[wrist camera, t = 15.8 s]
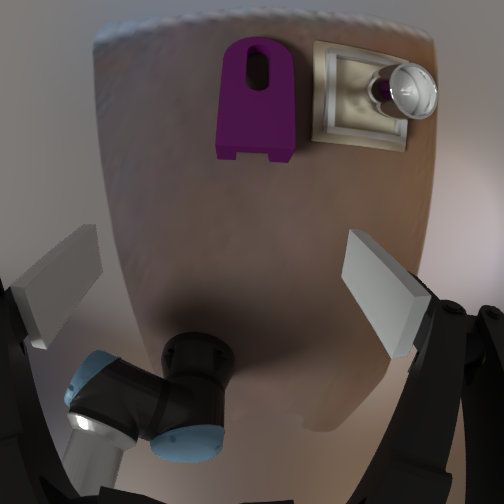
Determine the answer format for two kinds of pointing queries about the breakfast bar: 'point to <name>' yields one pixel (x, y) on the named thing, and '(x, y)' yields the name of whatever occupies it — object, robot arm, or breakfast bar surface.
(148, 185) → the breakfast bar surface
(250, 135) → the mounting bracket
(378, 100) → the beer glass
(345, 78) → the cup holder
